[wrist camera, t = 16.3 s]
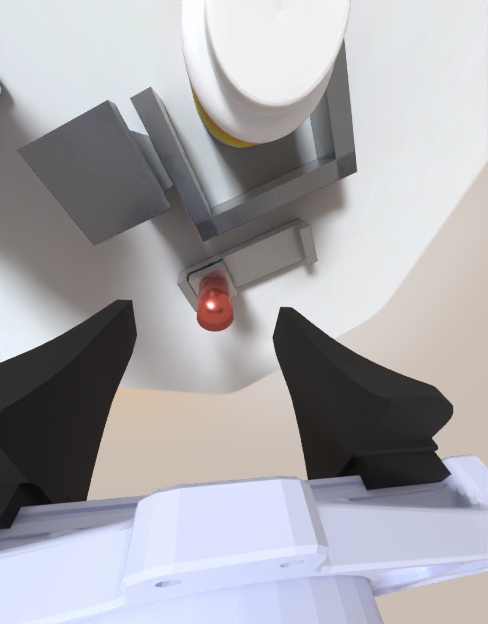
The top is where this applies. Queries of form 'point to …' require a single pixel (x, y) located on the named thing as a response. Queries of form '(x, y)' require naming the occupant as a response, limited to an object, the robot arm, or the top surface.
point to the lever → (214, 296)
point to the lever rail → (258, 257)
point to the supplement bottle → (260, 63)
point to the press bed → (174, 166)
